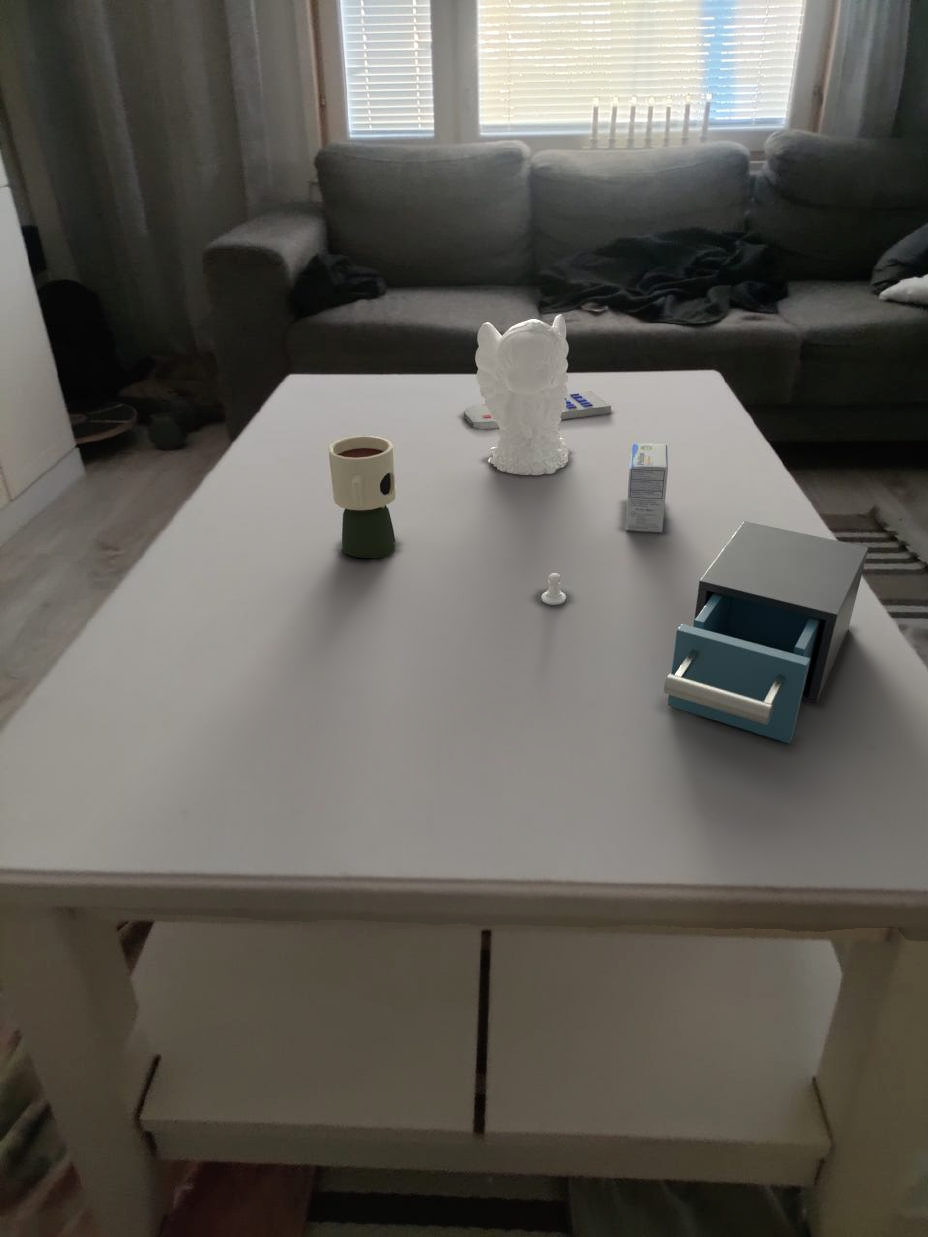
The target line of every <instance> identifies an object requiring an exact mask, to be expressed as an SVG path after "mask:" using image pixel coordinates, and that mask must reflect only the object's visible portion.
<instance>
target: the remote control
mask: <svg viewBox="0 0 928 1237" xmlns="http://www.w3.org/2000/svg"><path fill="white" fill-rule="evenodd" d="M565 401H566V408H565V409H564V410H562V411H561V416H560V417H561V421H562V420H569V419H577V418H585V417H593V416H599V415H607V414H611V413H612V404H610V403H608V402H607V401H605V400H604V399H602V398H601V397H600V396H598V395H597V394H596V393H594V392H593V391H592V390H591V391H580V392H573V393H568V394H567V396H566V397H565ZM463 418H464V419H465V420H466V421H467V422H468V423H469V425H470V426H471V427H472V428H475V429H479V430H489V429H498V428H499V427H498V424H497V422H496V421H494V420H493V419H492V418H491V416H490V411H489V410H488V409H487V407H486V405H485V403H482V404H474V405H471V406H468V407H466V408H465V409H464V410H463ZM499 429H500V428H499Z"/></svg>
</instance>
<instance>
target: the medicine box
mask: <svg viewBox="0 0 928 1237" xmlns="http://www.w3.org/2000/svg"><path fill="white" fill-rule="evenodd" d="M668 460H669V459H668V445H667V444H663V443H643V442H642V443H640V442H639V443H631V446H630V456H629V468H628V483H627V498H626V500H627V501H626V513H625V514H626V516H625V531H631V532H633V531H634V532H649V533H663V527H664V519H665V518H664V517H665V508H666V507H665V506H666V497H667V496H666V495H667V485H668V474H669V467H668V466H669V465H668V463H669V461H668Z"/></svg>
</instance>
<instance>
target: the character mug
mask: <svg viewBox="0 0 928 1237" xmlns="http://www.w3.org/2000/svg"><path fill="white" fill-rule="evenodd" d="M328 458H329V467H330V478H331V487H332V496H333V501H334V503H335V504H336V505H337V506H338V507H339V508H342V509H344V510H343V513H342V524H341V525H342V526H341V531H342V532H341V550H342V552H343V553H344V554H345V555H348V556H351V557H353V558H363V559H377V560H379V559H381V558H384V557H387V556H390V555H391V554H392V553H393V552H394V551H395V549H396V548H395V547H396V546H395V545H397V542H396V536H395V531H394V525H393V521H392V516H391V513H390V508H388V506H387V505H389V504H391V503H392V502H393V501H395V499H396V496H397V495H396V494H397V488H396V487H397V486H396V472H395V459H394V446H393V443H392V442H391V441H389V440H388V439H386V438H383V437H379V436H371V435H358V436H350V437H345V438H341V439H339V440H337V441H334V442H332V443H331V444H330V445H329V447H328Z"/></svg>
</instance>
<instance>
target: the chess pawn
mask: <svg viewBox="0 0 928 1237" xmlns="http://www.w3.org/2000/svg"><path fill="white" fill-rule="evenodd" d="M547 579H548V580H547V584H548V585H549V587H548V589H547V590H546V591H545V592H543V593H542V594H541V601H542V602H543V603H545V604H547V605H551V606H558V605H562V604H563V603H565V602H566V601H567V600H566V599H567V595H566V594H565V592H562V590H561V589H560V587H559V586H560V585H561V580H562V579H561V575H560V574H559V573H557V572H552V573H550V574H549V575H548V578H547Z"/></svg>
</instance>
